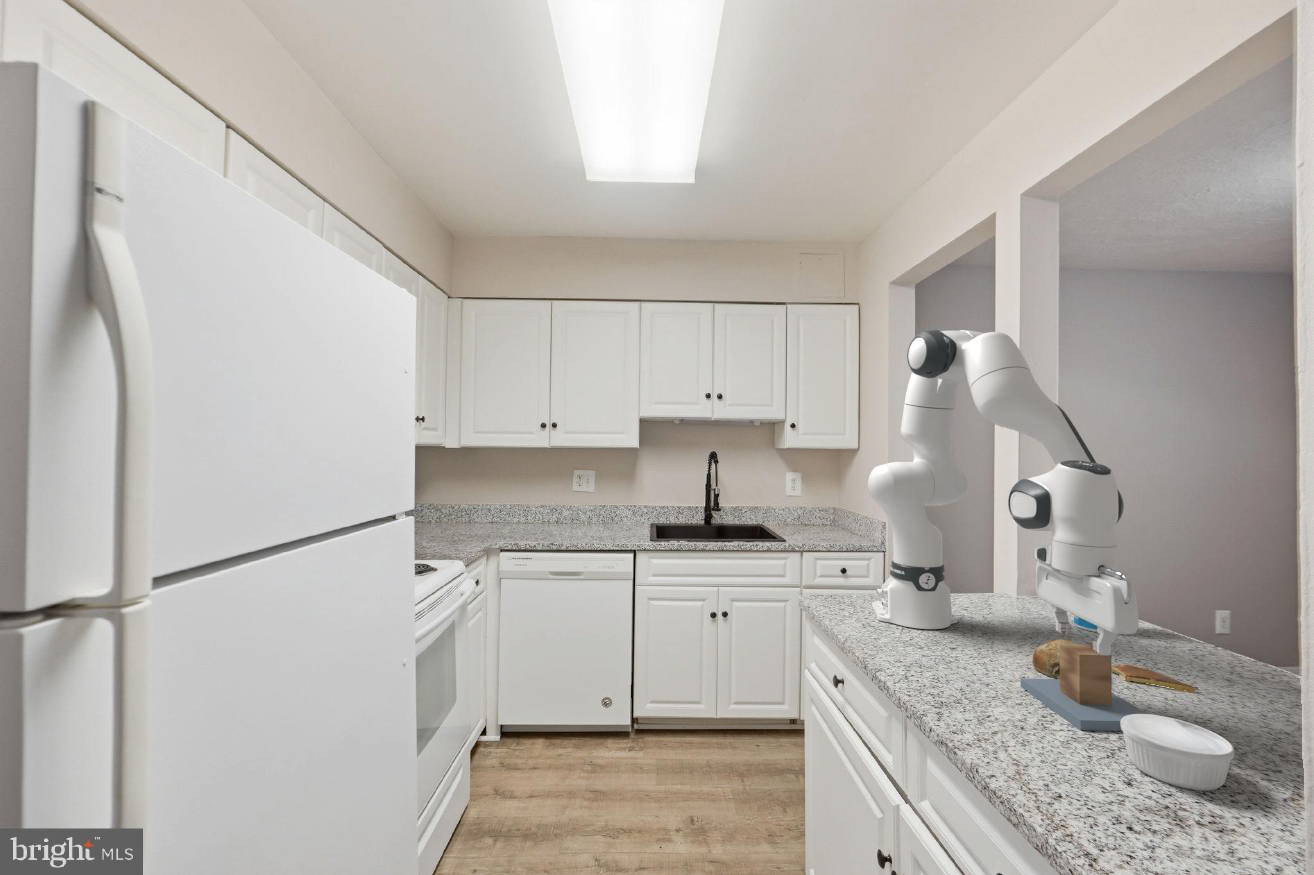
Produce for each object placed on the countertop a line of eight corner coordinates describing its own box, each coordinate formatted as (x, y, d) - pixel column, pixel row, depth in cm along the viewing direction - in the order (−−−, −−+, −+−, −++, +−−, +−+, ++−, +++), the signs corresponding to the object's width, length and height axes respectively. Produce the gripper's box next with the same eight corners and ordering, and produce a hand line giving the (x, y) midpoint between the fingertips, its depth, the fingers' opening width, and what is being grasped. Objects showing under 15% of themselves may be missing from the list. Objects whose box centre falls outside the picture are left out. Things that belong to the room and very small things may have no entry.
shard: (1198, 696, 103) (1198, 686, 103) (1161, 699, 102) (1161, 688, 102) (1138, 672, 114) (1138, 663, 114) (1104, 675, 113) (1104, 665, 113)
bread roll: (1037, 694, 111) (1041, 662, 108) (1025, 654, 120) (1029, 623, 117) (1100, 702, 108) (1106, 669, 105) (1083, 660, 117) (1088, 629, 114)
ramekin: (1256, 789, 75) (1256, 746, 75) (1194, 803, 72) (1194, 759, 72) (1158, 745, 85) (1158, 708, 85) (1101, 756, 82) (1101, 718, 82)
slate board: (1020, 686, 106) (1020, 678, 106) (1090, 688, 105) (1090, 679, 105) (1080, 730, 90) (1080, 720, 90) (1162, 732, 89) (1162, 722, 89)
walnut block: (1059, 691, 100) (1059, 643, 100) (1090, 692, 100) (1090, 644, 100) (1079, 704, 95) (1079, 654, 95) (1111, 705, 95) (1111, 655, 95)
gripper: (1152, 575, 87) (1150, 668, 87) (1064, 547, 108) (1062, 623, 108) (1108, 574, 88) (1106, 667, 88) (1028, 547, 108) (1027, 622, 108)
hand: (1081, 642), depth 98 cm, fingers open, 8 cm apart
